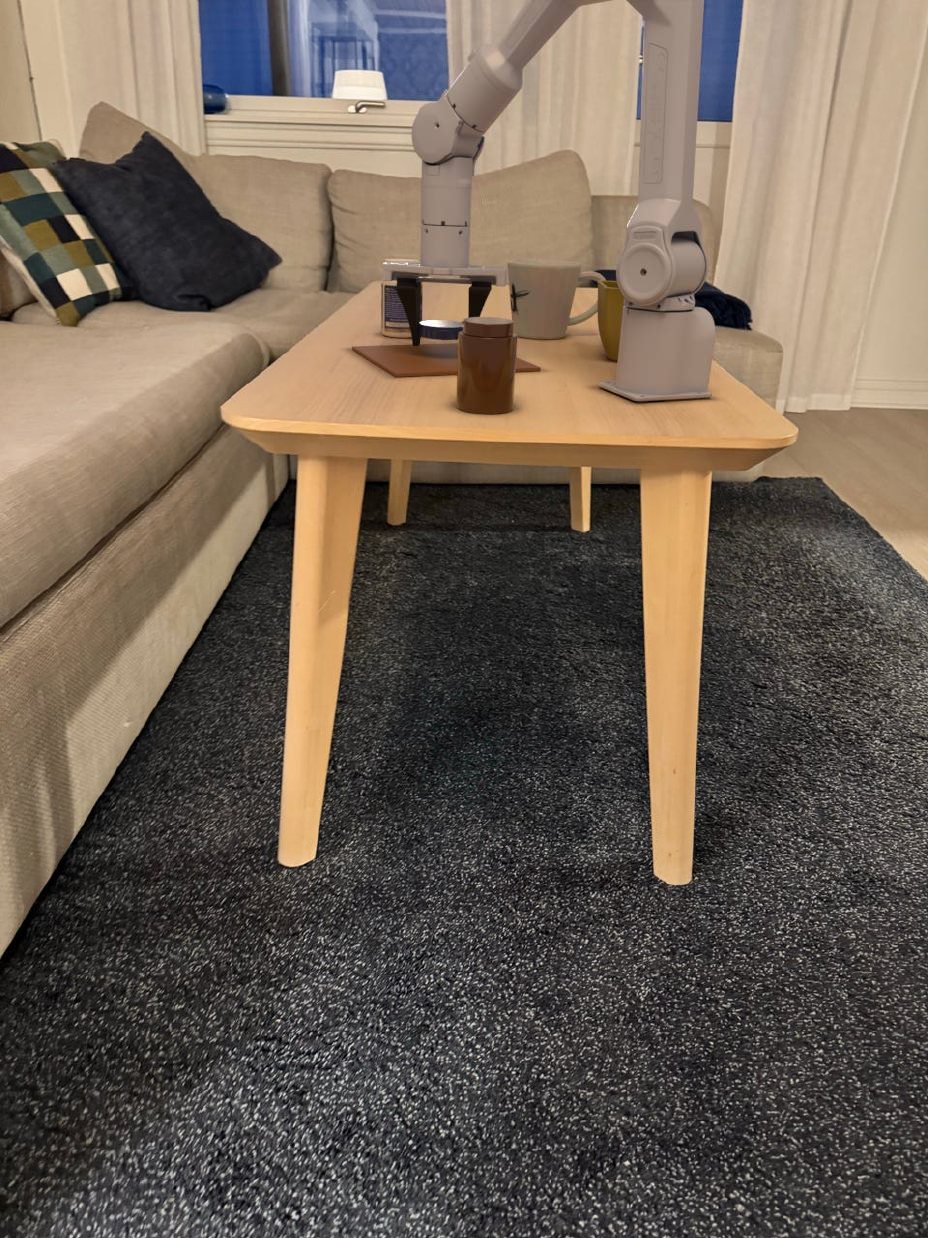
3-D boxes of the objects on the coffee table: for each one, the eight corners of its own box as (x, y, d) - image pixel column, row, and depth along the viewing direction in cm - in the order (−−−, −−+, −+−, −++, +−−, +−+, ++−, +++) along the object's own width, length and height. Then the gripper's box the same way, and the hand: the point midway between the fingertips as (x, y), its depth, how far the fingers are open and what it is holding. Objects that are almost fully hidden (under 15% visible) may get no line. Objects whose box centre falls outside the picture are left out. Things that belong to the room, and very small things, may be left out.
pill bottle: (429, 337, 127) (431, 260, 123) (394, 339, 124) (394, 261, 120) (408, 331, 131) (409, 257, 127) (373, 333, 128) (373, 257, 124)
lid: (437, 330, 114) (438, 318, 113) (477, 336, 111) (478, 324, 110) (407, 335, 109) (408, 322, 109) (448, 341, 106) (449, 329, 106)
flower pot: (656, 354, 120) (666, 282, 116) (668, 366, 113) (678, 289, 109) (590, 351, 120) (597, 279, 117) (597, 363, 113) (604, 286, 109)
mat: (481, 345, 122) (481, 342, 122) (540, 370, 107) (540, 367, 107) (351, 349, 116) (351, 346, 116) (395, 377, 101) (395, 373, 101)
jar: (498, 399, 92) (503, 315, 89) (522, 412, 88) (528, 324, 84) (447, 402, 90) (449, 316, 87) (469, 415, 86) (472, 325, 82)
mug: (498, 329, 136) (501, 257, 131) (595, 331, 137) (602, 260, 133) (509, 340, 126) (513, 263, 122) (613, 342, 128) (621, 266, 124)
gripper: (377, 223, 102) (378, 348, 108) (506, 229, 101) (500, 354, 107) (387, 221, 108) (388, 339, 114) (509, 226, 107) (503, 344, 113)
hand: (442, 346), depth 111 cm, fingers closed on lid, 6 cm apart
